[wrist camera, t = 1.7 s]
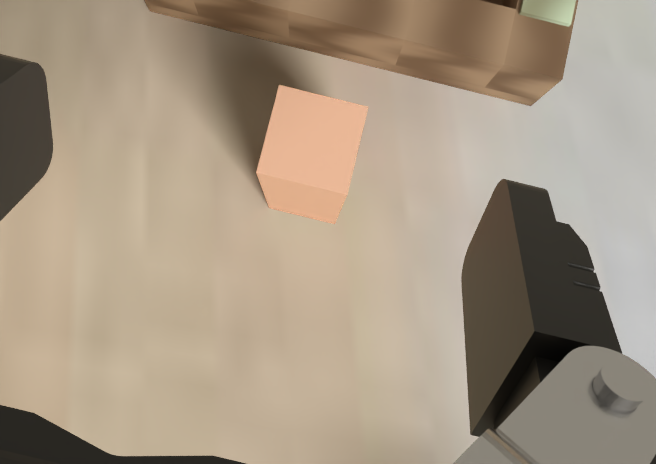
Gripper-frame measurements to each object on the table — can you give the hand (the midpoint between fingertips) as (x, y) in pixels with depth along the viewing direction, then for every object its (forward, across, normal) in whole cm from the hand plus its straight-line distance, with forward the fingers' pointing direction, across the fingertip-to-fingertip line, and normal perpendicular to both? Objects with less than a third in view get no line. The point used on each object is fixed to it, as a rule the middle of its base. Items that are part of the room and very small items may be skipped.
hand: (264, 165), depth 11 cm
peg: (+21, 0, +14) cm, 25 cm away
